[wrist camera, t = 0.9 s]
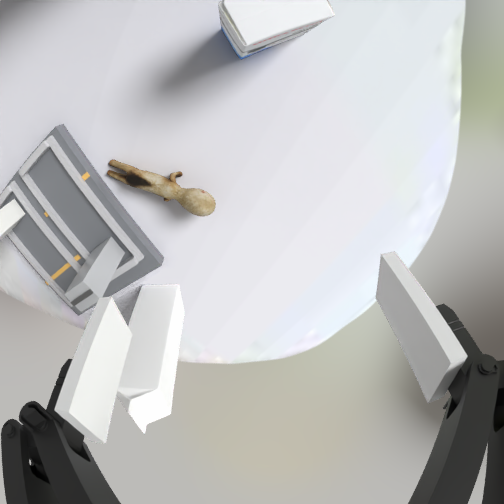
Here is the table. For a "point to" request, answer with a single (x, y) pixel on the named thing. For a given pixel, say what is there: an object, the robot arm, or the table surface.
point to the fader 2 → (95, 275)
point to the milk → (152, 354)
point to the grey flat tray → (72, 218)
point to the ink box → (269, 21)
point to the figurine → (165, 188)
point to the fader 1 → (10, 217)
